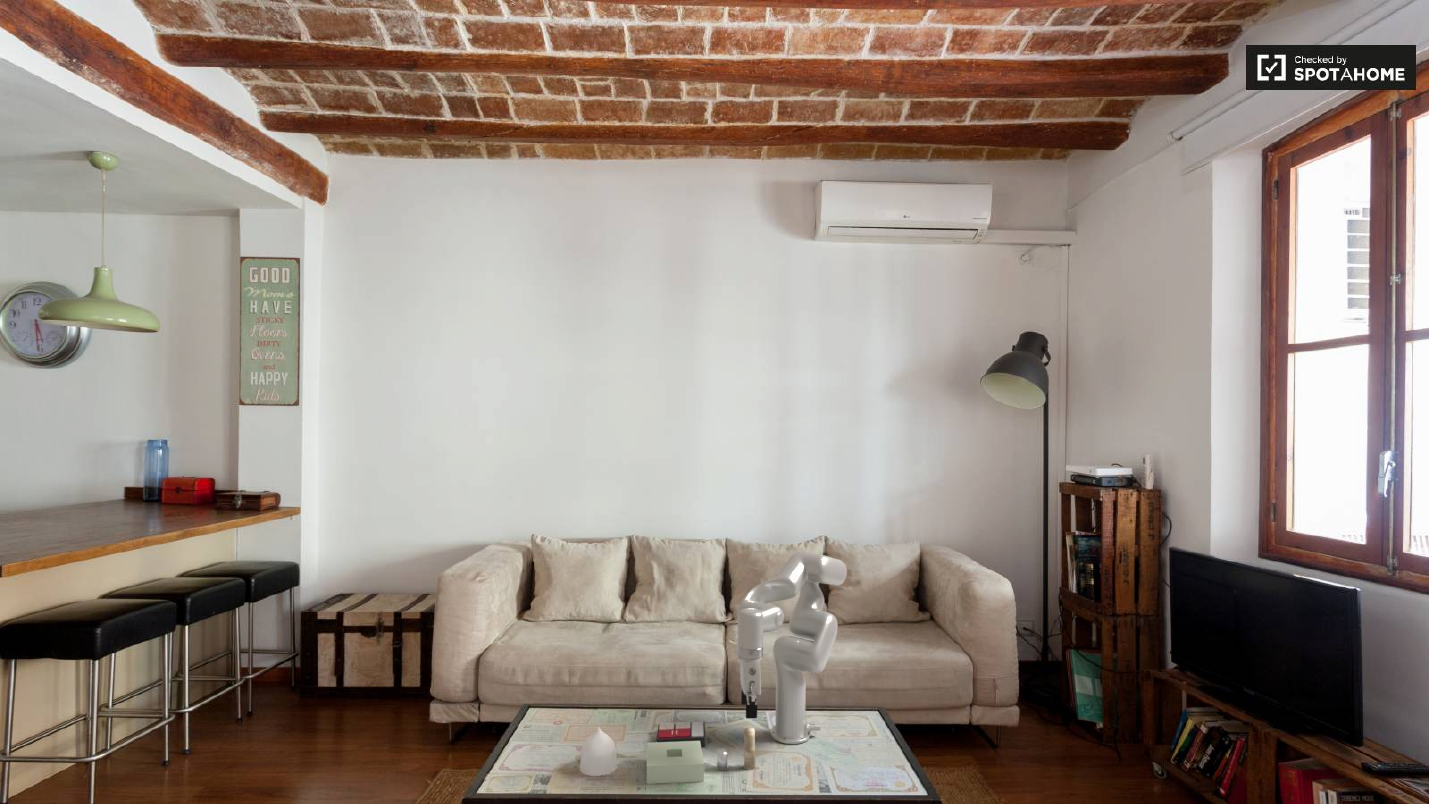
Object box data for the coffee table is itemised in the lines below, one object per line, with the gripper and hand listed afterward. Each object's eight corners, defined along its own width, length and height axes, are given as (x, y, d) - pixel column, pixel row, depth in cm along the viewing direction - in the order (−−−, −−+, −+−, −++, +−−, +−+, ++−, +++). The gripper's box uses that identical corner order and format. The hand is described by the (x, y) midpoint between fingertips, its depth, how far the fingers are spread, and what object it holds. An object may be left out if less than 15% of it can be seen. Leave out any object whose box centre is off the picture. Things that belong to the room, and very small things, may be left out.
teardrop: (576, 761, 217) (576, 720, 217) (612, 755, 221) (613, 715, 221) (583, 779, 207) (583, 736, 207) (621, 772, 211) (621, 731, 211)
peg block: (699, 757, 220) (700, 740, 220) (703, 781, 206) (703, 763, 206) (646, 759, 218) (646, 742, 218) (646, 784, 204) (646, 766, 204)
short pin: (726, 765, 215) (726, 748, 215) (727, 770, 212) (728, 753, 212) (716, 766, 215) (716, 749, 215) (717, 771, 212) (717, 754, 212)
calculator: (658, 721, 237) (704, 719, 237) (658, 735, 237) (705, 732, 237) (656, 737, 226) (704, 734, 226) (656, 751, 226) (705, 748, 226)
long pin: (753, 764, 216) (753, 727, 216) (755, 769, 213) (755, 732, 213) (743, 765, 216) (743, 727, 216) (745, 770, 213) (745, 732, 213)
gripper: (767, 662, 206) (766, 723, 206) (758, 642, 223) (757, 699, 223) (741, 662, 205) (740, 723, 205) (733, 643, 222) (732, 699, 222)
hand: (748, 711), depth 214 cm, fingers open, 9 cm apart
